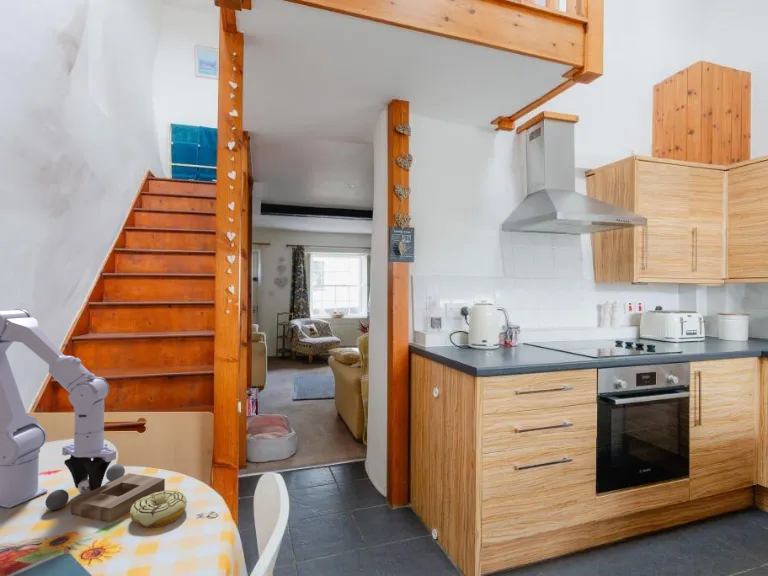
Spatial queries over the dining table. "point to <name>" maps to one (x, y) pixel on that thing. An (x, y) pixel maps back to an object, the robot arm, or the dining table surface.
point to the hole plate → (115, 497)
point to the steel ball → (84, 486)
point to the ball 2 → (115, 472)
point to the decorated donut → (158, 509)
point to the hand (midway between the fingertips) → (88, 487)
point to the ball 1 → (57, 499)
